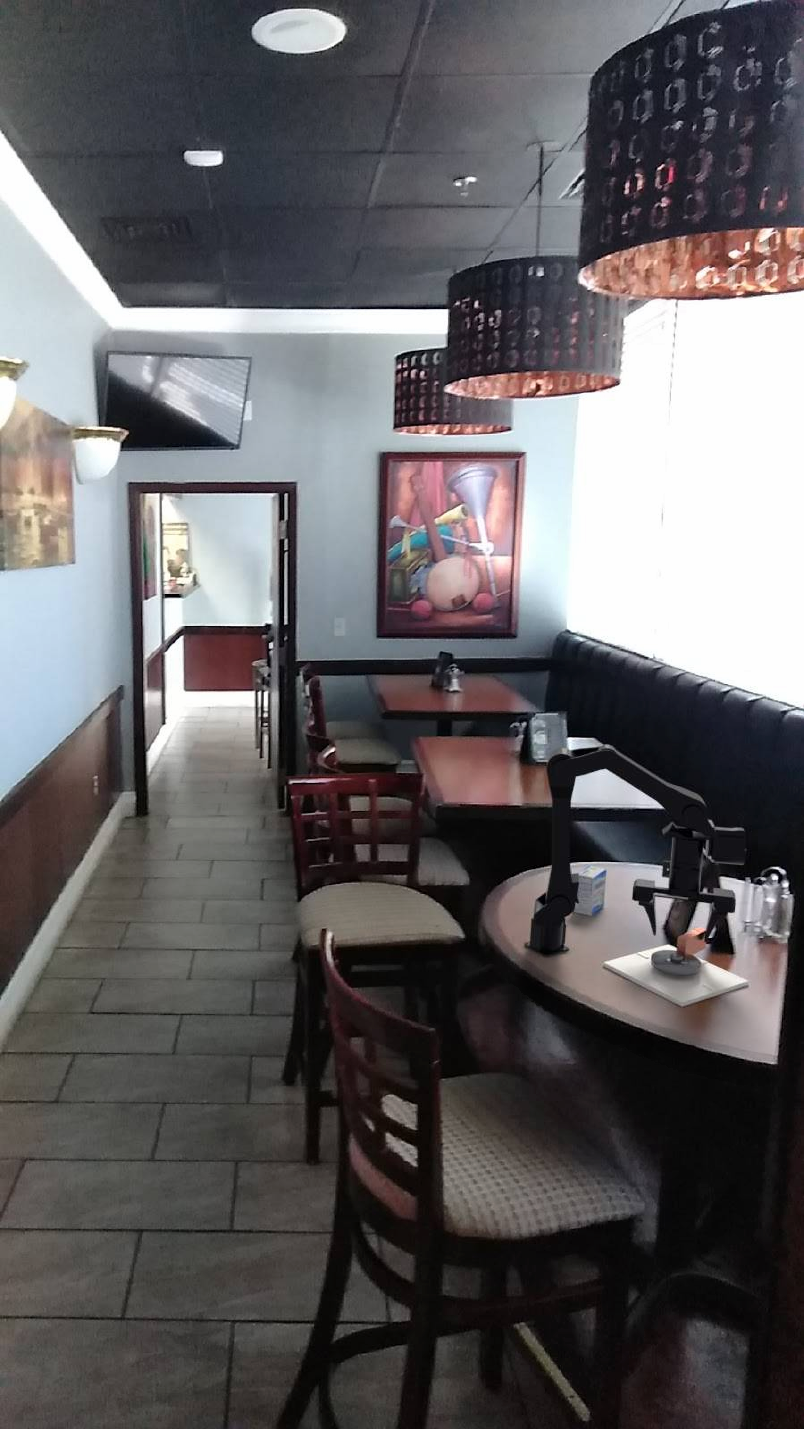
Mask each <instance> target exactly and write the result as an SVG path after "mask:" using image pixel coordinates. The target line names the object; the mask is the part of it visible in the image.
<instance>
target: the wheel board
mask: <svg viewBox="0 0 804 1429" xmlns="http://www.w3.org/2000/svg"><path fill="white" fill-rule="evenodd" d="M661 950H675V951H676V950H677V947H675V946H674V945H670V944H664V945H661V946H658V947H654V948H650V949H647V950H643V951H640V952H635V953H631V954H629V955H625V956H621V957H618V958H613V959H610V960H607V961H603V967H604V968H606V969H609V970H610V971H612V972H614V973H616V974H618V975H620V976H622V977H624V978H626V979H627V980H629V981H631V982H633V983H636V984H638V985H640V986H641V987H643V988H645V989H647V990H649V991H650V992H653V993H655V994H657V995H659V996H660V997H662V998H665V999H667V1000H668V1001H670V1002H672V1003H674V1004H676V1005H679V1007H681V1008H682V1007H685V1006H688V1005H692V1004H694V1003H695V1004H696V1003H697V1002H701V1001H703V1000H704V1001H705V1000H706V999H710V998H713V997H716V996H719V995H722V994H725V993H729V992H731V991H735V990H737V989H741V988H744V987H746V986H748V985H749V980H748V979H745V978H743V977H741V976H738V975H736V974H734V973H732V972H730V971H727V970H726V969H723V968H721V967H719V966H716V965H714V964H712V963H710V962H708V961H707V960H703V959H702V958H699V957H697V958H698V959H699V960H700V961H701V971H700V972H699V973H698V974H696V975H693V976H675V975H670V974H666V973H663V972H661V971H659V970H657V969H655V968H654V967H653V966H652V965H651V955H652V954H653V953H654V952H656V951H661Z"/></svg>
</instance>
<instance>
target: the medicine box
mask: <svg viewBox="0 0 804 1429" xmlns="http://www.w3.org/2000/svg"><path fill="white" fill-rule="evenodd" d="M578 873H579V887H578V890H579V904H578V903H576V905H575V910H574V912H573V913H575V914H579V915H585V916H588V917H592V916H594V915H595V914H596V913H597V912H598V911H599V910H600V909H602V908H603V907H604V906H605V895H606V883H607V882H606V881H607V869H605V868H602V867H597V866H590V865H588V866H587V867H585V868H584V869H582V870H581V871H579V872H578Z"/></svg>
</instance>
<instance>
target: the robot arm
mask: <svg viewBox="0 0 804 1429" xmlns="http://www.w3.org/2000/svg"><path fill="white" fill-rule="evenodd" d="M546 761H547V762H546V766H545V767H546V775H547V781H548V785H549V786H548V787H549V792H550V795H551V796H550V797H551V803H552V805H551V865H550V871H549V876H548V879H547V884H546V891H545V892H543V893H542V894H541V895H540V896H538V897H537V898H536V899H535V900H534V907H533V909H534V910H533V917H531V919H530V932H529V933H530V935H529V941H525V942H523V946H525V947H527V948H528V949H531V950H532V951H533V952H536V953H538V955H539V954H540V955H541V956H542V957H549V956H553V955H558V954H561V953H565V952H568V951H570V947H569V946H567V945H565V944H566V934H567V924H566V920H567V919H566V917H569V916H570V915H571V914H572V913H575V912H574V910H575V905H576V903H578V904H579V890H578V887H579V872H575V873H573V872H572V867H571V866H572V865H571V829H572V827H571V826H572V825H571V823H572V822H571V820H572V817H571V816H572V815H571V814H572V811H571V810H572V797H573V794H574V789H575V784H576V778H577V777H581V776H586V775H589V774H592V773H596V772H598V771H602V770H607V771H609V772H610V773H612V774H613V775H615V776H616V777H618V778H619V779H621V780H623V781H624V782H626V783H627V784H629V785H631V786H632V787H633V788H635V789H637V790H639V791H640V792H641V793H643V794H644V795H646V796H648V798H651V799H652V800H653V801H655V802H657V803H658V804H659V805H660V806H661V807H662V808H663V810H665V811H666V812H667V813H668V814H669V815H670V816H671V817H672V818H673V819H674V820H675V821H676V822H677V823H678V824H679V825H681V826H677V825H676V824H675V823H674V822H673V821H671V822H670V823H669V824H668V825H666V826H665V827H664V828H662V830H661V831H662V834H663V836H664V837H665V838H672V839H671V840H672V841H671V854H670V860H669V861H668V860H662V868H661V869H662V870H661V877H662V878H666V879H668V885H667V886H668V887H663V886H656V880H650V879H644V878H643V879H642V878H636V880H634V882H633V886H632V894H631V895H632V897H631V900H632V901H635V902H638V905H639V906H640V907H643V908H644V911H645V913H646V915H647V918H648V920H649V923H650V928H651V931H652V935H653V936H657V914H656V913H657V911H656V898H661V899H662V898H663V899H672V900H679V901H680V900H681V901H686V902H687V901H688V902H694V903H695V902H696V903H702V904H703V903H704V904H710V907H709V912H708V917H707V922H706V926H705V929H706V930H705V936H704V942H706V943H708V940H709V938H710V936H711V935H712V932H713V930H714V928H715V927H716V925H717V924H718V923H719V921H720V920H721V919H722V917H728V916H729V915H728V914H734V913H735V912H736V905H737V903H736V902H737V899H736V898H737V897H736V893H735V892H734V890H732V889H727V888H718V887H713V892H712V893H711V892H704V891H700V890H701V877H702V867H703V857H704V856H703V854H704V843H705V856H706V858H707V857H710V860H711V863H716V864H725V865H726V864H727V865H728V864H729V865H740V866H744V865H745V863H746V858H747V849H746V831H745V829H744V828H743V827H722V826H721V827H720V826H715V825H714V824H715V823H714V822H713V821H712V819H710V818H709V810H708V808H707V805H706V803H705V801H704V799H703V798H702V797H701V796H700V795H699V794H698V793H696V792H693V791H691V790H689V789H686V788H684V787H682V786H679V785H675V784H673V783H670V782H667V781H665V780H664V779H662V778H660V777H659V776H657V775H656V774H654V773H653V772H651V771H649V770H648V769H647V768H644V767H643V766H642V765H640V764H638V763H637V762H635V761H634V760H633V759H631V758H629V757H628V756H626V755H624V754H623V753H621V752H620V751H618V750H617V749H616V748H615V747H614V746H613V745H612V744H611V745H610V744H602V745H598V746H593V747H581V748H576V749H569V748H567V747H558V748H556V749H553V750H552V751H551V752H550V753H549V754H548V757H547V760H546ZM693 829H695V830H696V831H693ZM705 841H706V842H705Z"/></svg>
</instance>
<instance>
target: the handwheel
mask: <svg viewBox="0 0 804 1429" xmlns="http://www.w3.org/2000/svg"><path fill="white" fill-rule="evenodd" d="M705 930H706V928H704V927H701V926H698V927H696V928H693V929H692V930H689V931H687V932H685V933H684V934H681V935H678V937H677V940H676V942H677V943H676V948H677V950H676V951H675V950H661V951H656V952H654V953H653V954H652V955H651V965H652V966H653V967H654V968H655V969H657V970H659V971H661V972H663V973H666V974H670V975H675V976H693V975H696V974H698V973H699V972H700V971H701V961H700V960H699V959H700V958H699V957H697V956H695V954H698V953H699V952H701V951H704V950H705V949H706V948H707V942H704V936H705ZM698 958H699V959H698Z"/></svg>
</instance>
